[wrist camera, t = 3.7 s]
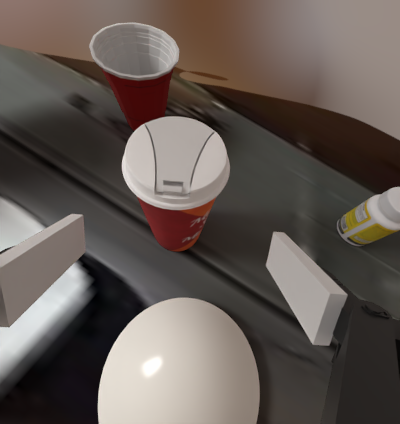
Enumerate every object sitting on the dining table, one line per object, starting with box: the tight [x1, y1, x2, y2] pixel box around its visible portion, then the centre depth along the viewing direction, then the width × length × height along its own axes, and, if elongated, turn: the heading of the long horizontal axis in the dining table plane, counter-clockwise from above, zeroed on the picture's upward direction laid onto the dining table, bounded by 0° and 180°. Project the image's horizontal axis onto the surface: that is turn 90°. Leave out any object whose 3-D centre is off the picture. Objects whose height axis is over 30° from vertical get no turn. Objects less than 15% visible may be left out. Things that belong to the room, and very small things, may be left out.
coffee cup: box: [122, 116, 230, 251], centre depth 22 cm, size 8×8×15 cm
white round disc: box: [98, 298, 260, 424], centre depth 21 cm, size 15×15×1 cm
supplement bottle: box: [337, 187, 400, 246], centre depth 27 cm, size 5×5×8 cm
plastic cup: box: [89, 23, 179, 131], centre depth 32 cm, size 11×11×12 cm
